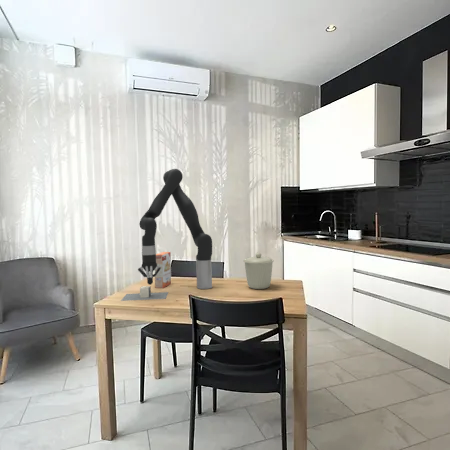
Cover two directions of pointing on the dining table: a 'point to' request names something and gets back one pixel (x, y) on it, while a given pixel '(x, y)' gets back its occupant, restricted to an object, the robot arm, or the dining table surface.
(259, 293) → the dining table surface
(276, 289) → the dining table surface
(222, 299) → the dining table surface
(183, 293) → the dining table surface
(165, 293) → the mat
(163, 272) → the cracker box
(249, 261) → the canister
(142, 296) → the cube
